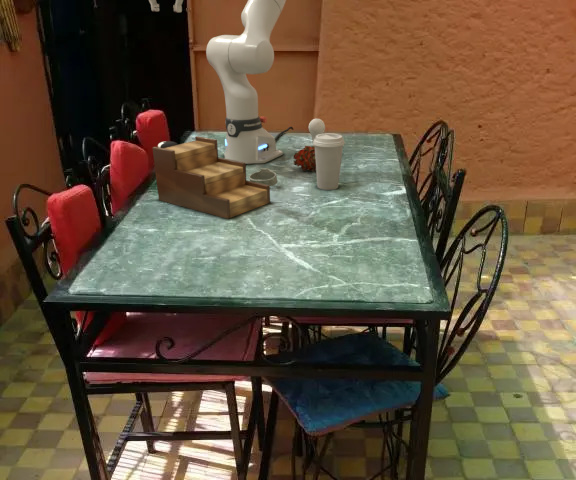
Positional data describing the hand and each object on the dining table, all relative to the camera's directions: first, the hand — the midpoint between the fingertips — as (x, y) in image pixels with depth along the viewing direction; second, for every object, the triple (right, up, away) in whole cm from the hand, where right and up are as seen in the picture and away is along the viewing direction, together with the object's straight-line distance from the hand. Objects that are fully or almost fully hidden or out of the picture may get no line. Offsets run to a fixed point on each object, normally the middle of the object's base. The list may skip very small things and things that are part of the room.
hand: (166, 11), depth 181 cm
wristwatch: (+27, -44, +18) cm, 55 cm away
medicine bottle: (-3, -41, +23) cm, 47 cm away
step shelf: (+13, -53, +5) cm, 55 cm away
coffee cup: (+47, -45, +16) cm, 67 cm away
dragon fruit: (+41, -34, +33) cm, 63 cm away
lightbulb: (+45, -19, +57) cm, 75 cm away
